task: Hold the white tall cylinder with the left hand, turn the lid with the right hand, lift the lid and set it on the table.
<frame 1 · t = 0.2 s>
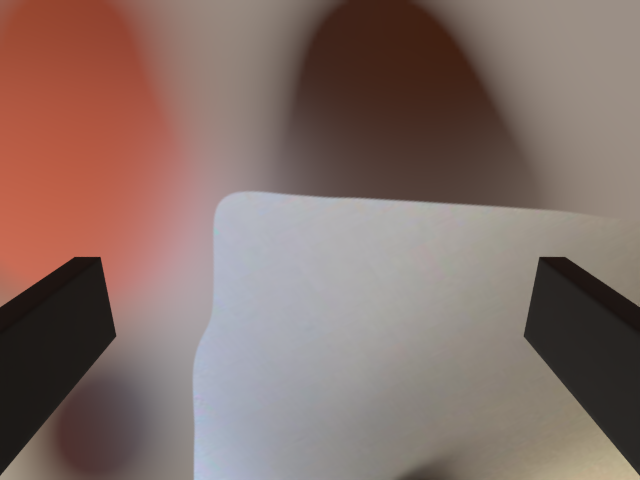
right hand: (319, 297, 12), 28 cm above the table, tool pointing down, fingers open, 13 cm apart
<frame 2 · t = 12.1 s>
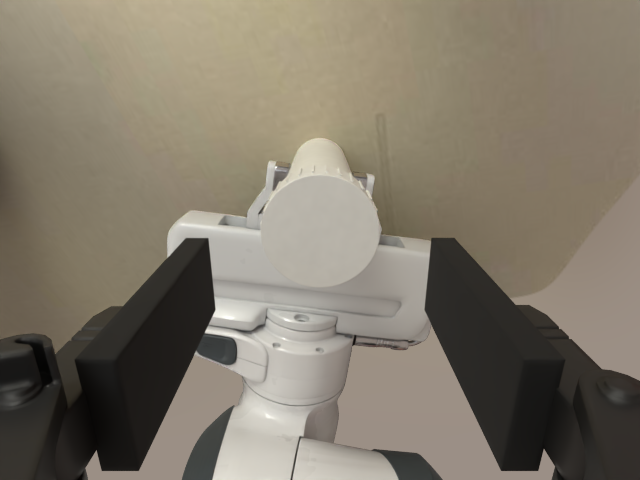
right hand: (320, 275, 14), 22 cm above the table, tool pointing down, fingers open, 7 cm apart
left hand: (321, 168, 28), fingers closed on white tall cylinder, 4 cm apart
white tall cylinder: (319, 164, 35), on the table, touching left hand
lid: (320, 231, 18), point 18 cm above the table, screwed on, not yet turned
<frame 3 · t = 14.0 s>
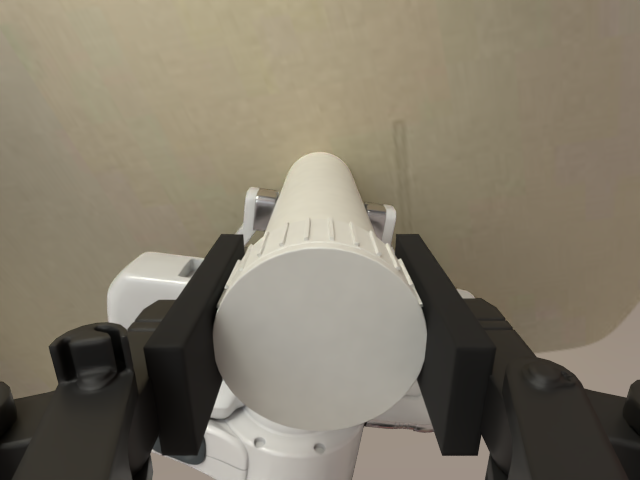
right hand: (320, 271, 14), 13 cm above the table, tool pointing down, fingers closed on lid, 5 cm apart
white tall cylinder: (319, 186, 27), on the table, touching left hand
lid: (319, 339, 10), point 18 cm above the table, screwed on, not yet turned, touching right hand
when the right hand's fingers open (14 cm above the table, at t = 15.5 s): lid stays where it is, point 18 cm above the table.
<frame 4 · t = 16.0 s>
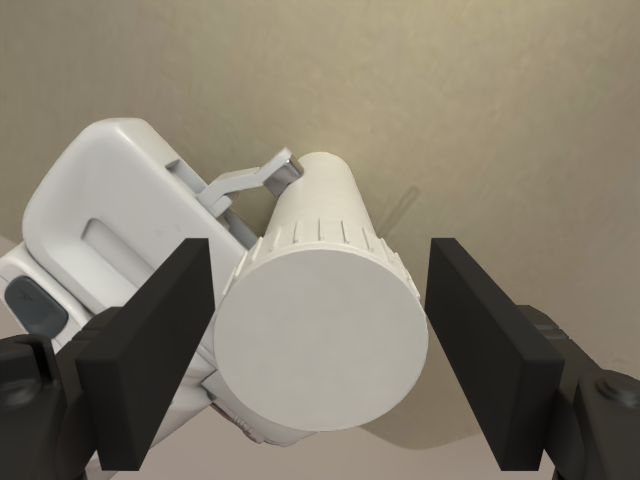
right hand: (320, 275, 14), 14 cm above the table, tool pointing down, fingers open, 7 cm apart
left hand: (333, 202, 21), fingers closed on white tall cylinder, 4 cm apart
white tall cylinder: (320, 185, 27), on the table, touching left hand
lid: (320, 340, 10), point 18 cm above the table, turned 86° so far, risen 0.3 cm, still on its thread
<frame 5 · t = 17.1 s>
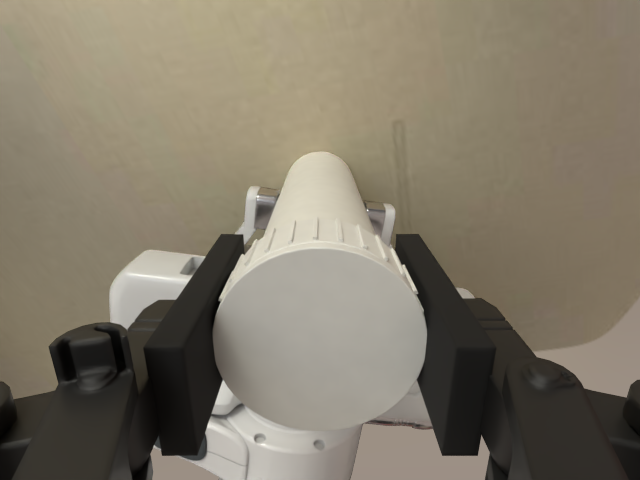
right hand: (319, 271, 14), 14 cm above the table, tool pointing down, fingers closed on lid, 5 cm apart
white tall cylinder: (319, 185, 27), on the table, touching left hand
lid: (319, 339, 10), point 18 cm above the table, turned 86° so far, risen 0.3 cm, still on its thread, touching right hand
when the right hand's fingers open (1 cm above the table, at t = 22.8 s): lid drops 3 cm, point 2 cm above the table.
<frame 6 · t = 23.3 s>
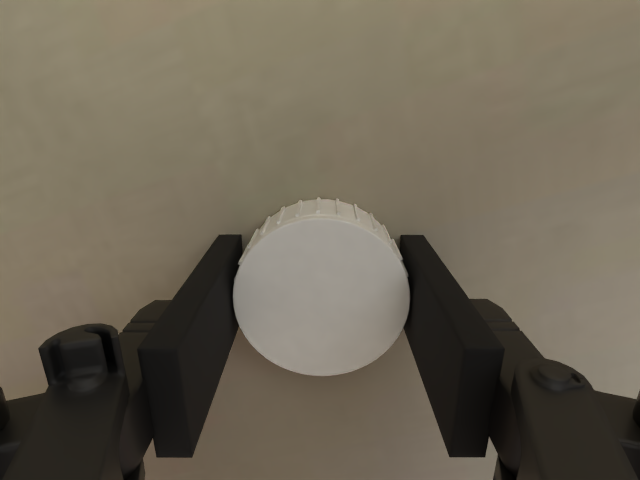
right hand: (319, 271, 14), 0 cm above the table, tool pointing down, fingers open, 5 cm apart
lid: (321, 297, 12), point 2 cm above the table, off its thread
when the left hand's fingers open (7 cm above the table, at t = 24.6 s): white tall cylinder stays where it is, on the table.
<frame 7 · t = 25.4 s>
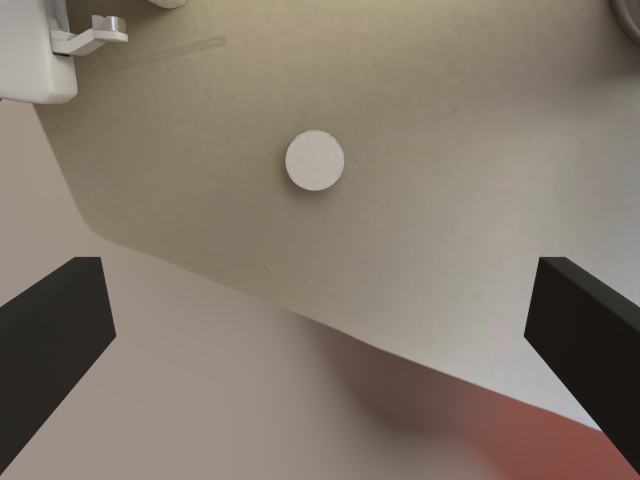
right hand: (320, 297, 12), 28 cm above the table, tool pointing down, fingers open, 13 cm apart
lid: (314, 161, 37), point 2 cm above the table, off its thread
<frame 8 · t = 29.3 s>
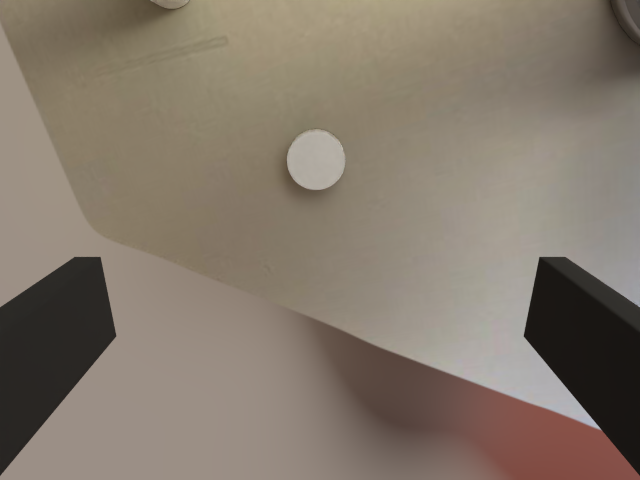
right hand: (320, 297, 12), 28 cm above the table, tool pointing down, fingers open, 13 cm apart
lid: (316, 160, 37), point 2 cm above the table, off its thread
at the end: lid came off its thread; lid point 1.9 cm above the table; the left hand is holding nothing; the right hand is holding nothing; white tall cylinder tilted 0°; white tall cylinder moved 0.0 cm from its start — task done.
